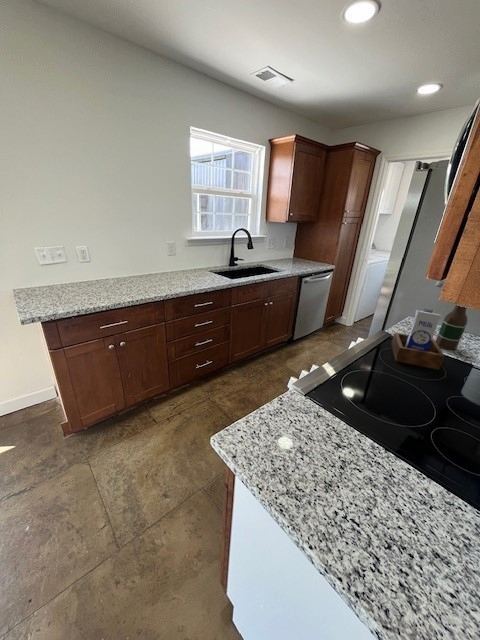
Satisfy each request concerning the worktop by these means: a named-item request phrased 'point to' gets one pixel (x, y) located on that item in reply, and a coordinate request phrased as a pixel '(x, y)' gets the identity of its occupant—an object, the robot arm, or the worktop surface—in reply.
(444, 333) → the beer bottle
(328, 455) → the worktop surface
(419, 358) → the oak frame
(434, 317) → the milk carton
